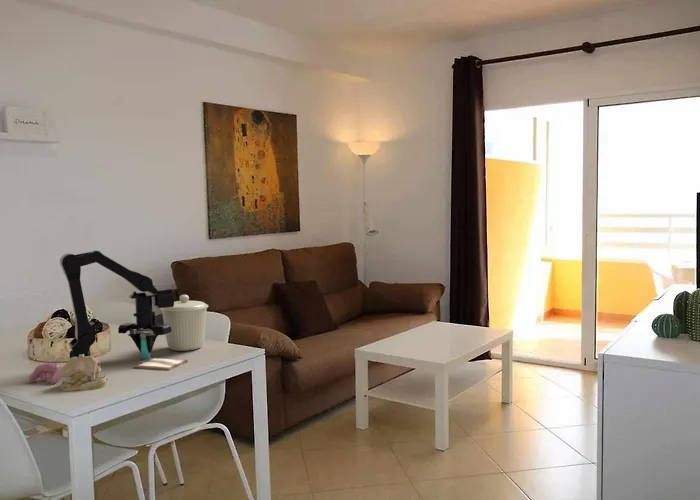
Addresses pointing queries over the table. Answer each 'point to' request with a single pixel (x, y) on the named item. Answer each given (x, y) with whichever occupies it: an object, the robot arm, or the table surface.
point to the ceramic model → (82, 374)
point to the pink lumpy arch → (46, 373)
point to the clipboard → (159, 364)
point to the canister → (185, 324)
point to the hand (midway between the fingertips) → (145, 352)
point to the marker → (144, 346)
